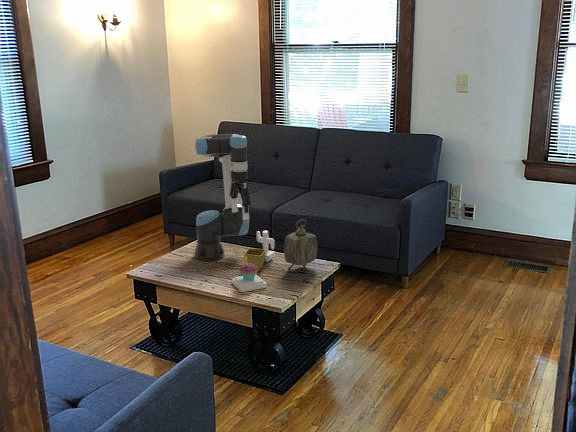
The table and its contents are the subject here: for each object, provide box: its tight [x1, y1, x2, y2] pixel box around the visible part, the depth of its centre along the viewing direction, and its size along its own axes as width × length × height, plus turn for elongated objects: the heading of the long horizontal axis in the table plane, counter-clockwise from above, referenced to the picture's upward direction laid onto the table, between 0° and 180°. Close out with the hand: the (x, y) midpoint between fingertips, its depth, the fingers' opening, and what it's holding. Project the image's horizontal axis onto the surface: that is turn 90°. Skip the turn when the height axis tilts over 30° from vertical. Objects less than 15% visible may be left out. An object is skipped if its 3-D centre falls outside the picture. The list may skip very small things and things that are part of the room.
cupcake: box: [238, 255, 259, 281], centre depth 270 cm, size 9×8×12 cm
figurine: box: [256, 230, 276, 262], centre depth 302 cm, size 7×9×15 cm
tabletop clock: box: [283, 218, 318, 272], centre depth 287 cm, size 14×9×25 cm, turn 136°
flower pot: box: [243, 248, 266, 272], centre depth 290 cm, size 9×9×9 cm
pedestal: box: [231, 274, 268, 293], centre depth 272 cm, size 12×12×3 cm
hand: (240, 215), depth 277 cm, fingers open, 13 cm apart
